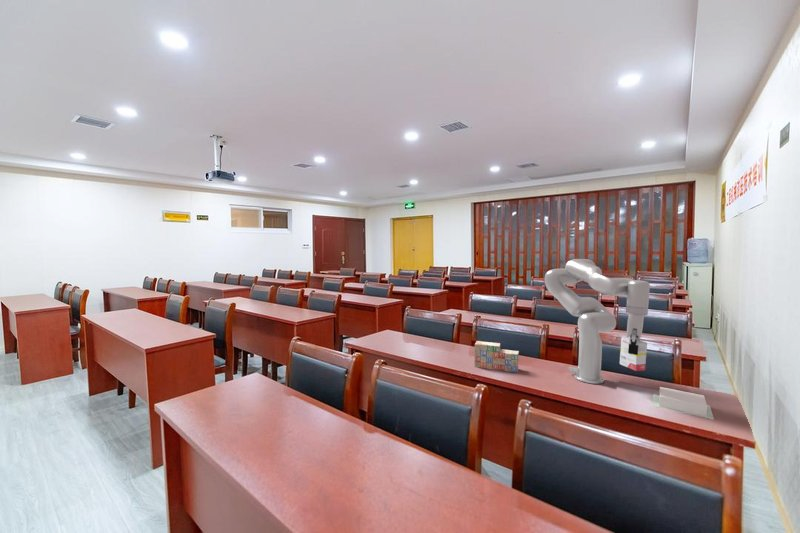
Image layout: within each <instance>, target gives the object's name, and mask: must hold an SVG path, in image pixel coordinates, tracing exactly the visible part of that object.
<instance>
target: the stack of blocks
mask: <svg viewBox="0 0 800 533" xmlns="http://www.w3.org/2000/svg"><path fill="white" fill-rule="evenodd" d="M519 352H520V351H519V350H510V349H503V348H502V349H501V343H500V342H491V341H490V342H489V341H481V340H476V342H475V343H474V367H475V368H480V369H489V370H494V371H496V370H497V371H502V372H504V371H505V372H510V373H511V372H512V373H518V371H519Z"/></svg>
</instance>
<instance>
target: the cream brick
mask: <svg viewBox="0 0 800 533" xmlns="http://www.w3.org/2000/svg"><path fill="white" fill-rule="evenodd" d="M658 395H659V406H660V407H664V408H669V409H673V410H678V411H682V412H687V413H691V414H695V415H700V416H704V417H707V405H708V404H707V401H706V397H705V395H704V394H697V393H694V392H693V393H692V392H687V391H683V390H679V389H678V390H677V389H674V388H669V387H663V386H659V394H658ZM660 407H659V408H660ZM664 408H663V409H664ZM673 410H672V411H673ZM682 412H681V413H682ZM691 414H690V415H691ZM695 415H694V416H695ZM704 417H703V418H704Z"/></svg>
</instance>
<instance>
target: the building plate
mask: <svg viewBox="0 0 800 533" xmlns="http://www.w3.org/2000/svg"><path fill="white" fill-rule="evenodd" d="M652 407H656V408H660V409H665V410H669V411H673V412H678V413H681V414H683V413H684V414H687V415H691V416H695V417H700V418H705V419H708V420H713V421H714V420H715V418H714V415H713V412H712V408H711V405H708V404H707V417H704V416H700V415H695V414H691V413H687V412H682V411H678V410H673V409H669V408H664V407H660V406H659V394H655V393H653V397H652Z"/></svg>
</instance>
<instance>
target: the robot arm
mask: <svg viewBox="0 0 800 533" xmlns="http://www.w3.org/2000/svg"><path fill="white" fill-rule="evenodd" d="M602 274H603V272H602V268H600V267H599V266H597V265H596V263H595V262H594V261H593V260H591V259H587V258H573V259H570V260H568V261H567V262H566V263H565V265H564V268H552V269H549V270H548V271H547V272H546V273H545V274H544V285H545V287H546V289H547V291H548V292H549V294H551V295H552V296H553V297H554V298H555V299H556V300H558V302H559V303H560V304H561V305H562V307H563V308H565V310H566V311H567V312H568V313H569V314H570V315H571V316H573V317H578V319H577V327H578V328H577V329H578V336H579V339H578V341H579V342H578V360H577V361H578V363H577V364H578V365H577V366H576V367H574V366H569V365H568V368H567V370H568V371H569V372H571V373H574V374H573V377H574V379H576V380H578V381H580V382H583V383H587V384H593V385H594V384H595V385H596V384H603V383H605V377H603V376H601V375H602V374H601V373H602V358H603V356H602V355H603V354H602V353H603V351H602V350H603V342H602V338H601V336H600V334H601V333H609V332H611V331H613V330H615V329H616V328H617V320H616V317H615V316H614V314H612V312H610V311H609V309H608V308H606V307H605V306H604V305H603V304H602V303H601V302H600V301H599V300H598V299H596V298H594V297H591V296H579V295H578V294H577V293H576V292H575V291H574V290H573V289H571V288H570V287H568V286H569V285H575V284H577V283H579V282H581V281H582V282H583V281H584V282H585V283H588V285H589V286H590V288H592V289H593V290H594V291H596V292H599V293H601V294H603V295H605V296H608V297H609V296H611V297H614V296H615V297H617V296H618V297H619V296H626V305H625V314H627V315H628V316H627V325H626V334H625V335H626V336H625V337H627V338H628V337H630V344H629V349H628V353H629V354H634V355H638V340H641V338H642V334H643V328H644V320H645V319H644V318H645V317H646V316H648V315H649V314H648V313H649V303H650V301H649V300H650V288H651V284H650V282H649V281H647V280H646V281H645V280H639V279H632V278H630V277H629V278H628V277H608V276H605V275H604V274H603V275H602ZM566 285H568V286H566Z"/></svg>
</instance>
